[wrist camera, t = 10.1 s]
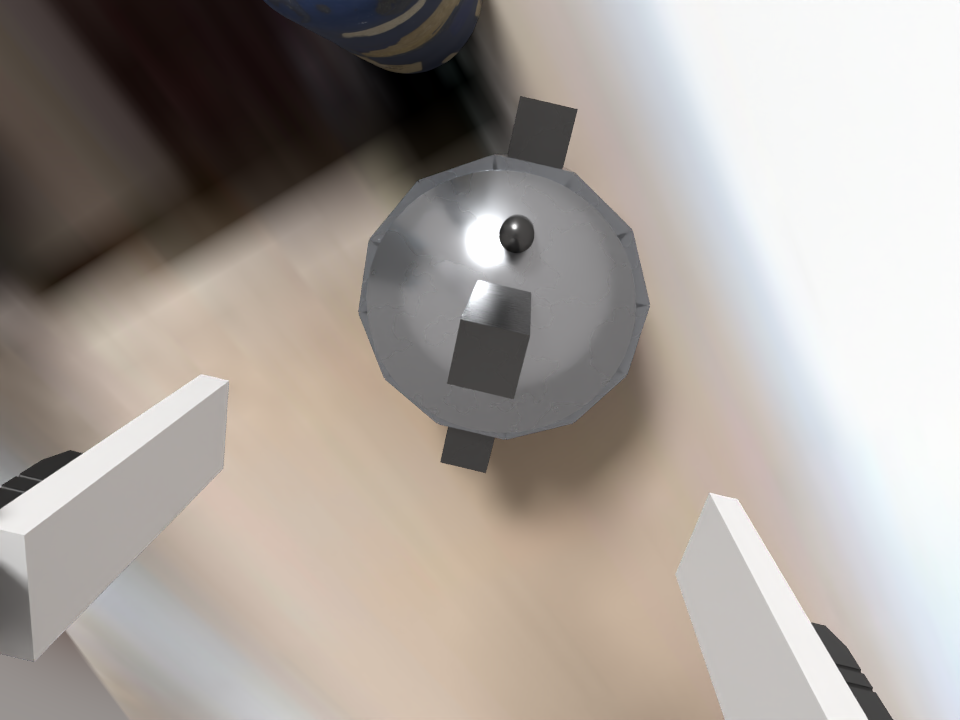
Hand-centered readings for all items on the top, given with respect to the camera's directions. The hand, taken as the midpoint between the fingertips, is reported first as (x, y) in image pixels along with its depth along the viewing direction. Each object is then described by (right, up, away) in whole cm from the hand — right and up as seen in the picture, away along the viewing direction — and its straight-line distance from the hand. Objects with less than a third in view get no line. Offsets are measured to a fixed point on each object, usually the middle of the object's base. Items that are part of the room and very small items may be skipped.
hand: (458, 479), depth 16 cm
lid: (+2, +7, +19) cm, 20 cm away
